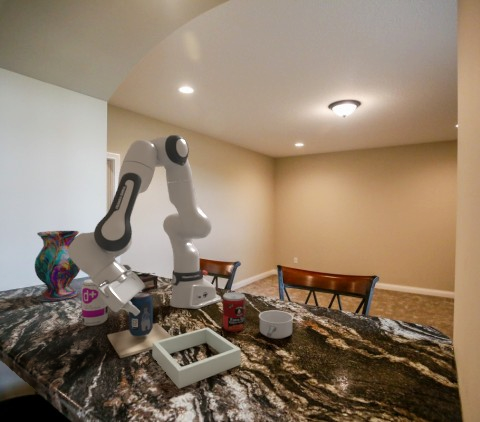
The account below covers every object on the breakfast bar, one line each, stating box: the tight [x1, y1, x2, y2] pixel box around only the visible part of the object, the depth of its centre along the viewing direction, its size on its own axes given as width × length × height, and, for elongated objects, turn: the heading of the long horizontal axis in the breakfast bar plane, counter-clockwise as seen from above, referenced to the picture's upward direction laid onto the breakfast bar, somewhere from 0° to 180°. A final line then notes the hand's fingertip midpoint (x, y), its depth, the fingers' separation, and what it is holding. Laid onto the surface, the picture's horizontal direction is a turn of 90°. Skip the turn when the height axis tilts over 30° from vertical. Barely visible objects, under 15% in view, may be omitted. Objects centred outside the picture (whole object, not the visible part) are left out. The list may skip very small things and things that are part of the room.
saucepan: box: [258, 309, 294, 339], centre depth 91 cm, size 12×20×6 cm, turn 165°
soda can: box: [128, 291, 154, 337], centre depth 89 cm, size 7×7×12 cm
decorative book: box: [131, 270, 158, 292], centre depth 148 cm, size 19×8×30 cm
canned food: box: [222, 291, 246, 332], centre depth 99 cm, size 8×8×11 cm
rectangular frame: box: [151, 326, 242, 390], centre depth 77 cm, size 17×17×4 cm
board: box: [107, 322, 173, 359], centre depth 89 cm, size 16×16×1 cm
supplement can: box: [81, 278, 108, 327], centre depth 103 cm, size 8×8×15 cm
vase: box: [34, 230, 81, 302], centre depth 133 cm, size 18×18×30 cm
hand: (143, 308), depth 89 cm, fingers closed on soda can, 7 cm apart
